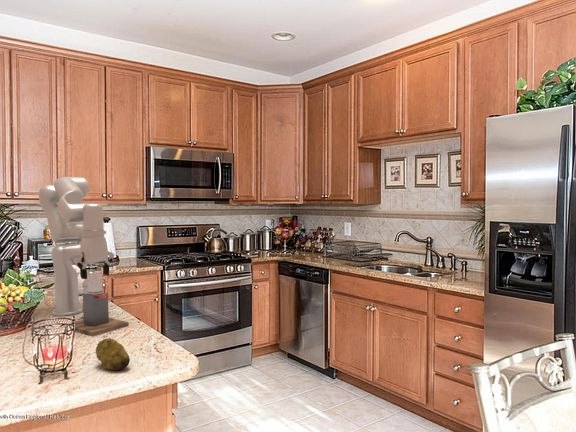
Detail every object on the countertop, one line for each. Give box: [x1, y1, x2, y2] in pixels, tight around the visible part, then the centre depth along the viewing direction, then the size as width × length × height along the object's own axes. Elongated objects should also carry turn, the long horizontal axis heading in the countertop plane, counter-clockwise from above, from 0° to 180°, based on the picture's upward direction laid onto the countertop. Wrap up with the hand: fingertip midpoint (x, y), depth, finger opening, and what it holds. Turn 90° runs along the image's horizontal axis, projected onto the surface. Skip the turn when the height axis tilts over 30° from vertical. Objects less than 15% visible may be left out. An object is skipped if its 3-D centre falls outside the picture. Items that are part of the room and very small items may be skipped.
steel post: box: [87, 273, 104, 296], centre depth 180 cm, size 4×4×20 cm
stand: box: [74, 292, 130, 337], centre depth 180 cm, size 20×16×14 cm
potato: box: [95, 337, 131, 371], centre depth 138 cm, size 8×13×8 cm, turn 34°
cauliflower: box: [72, 264, 85, 296], centre depth 243 cm, size 20×18×16 cm
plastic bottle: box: [83, 270, 96, 294], centre depth 196 cm, size 6×7×20 cm
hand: (95, 276), depth 180 cm, fingers open, 9 cm apart
